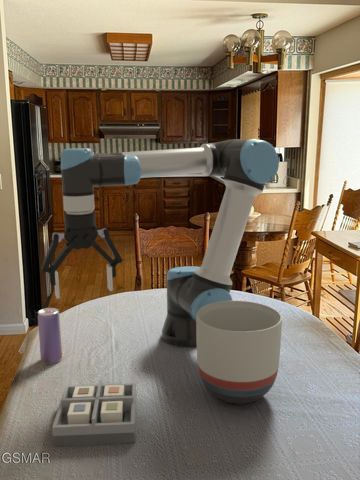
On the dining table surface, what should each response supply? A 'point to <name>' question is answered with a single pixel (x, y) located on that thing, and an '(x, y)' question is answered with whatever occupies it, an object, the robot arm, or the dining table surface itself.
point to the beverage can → (49, 335)
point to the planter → (238, 349)
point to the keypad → (95, 418)
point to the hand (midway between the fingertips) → (84, 293)
